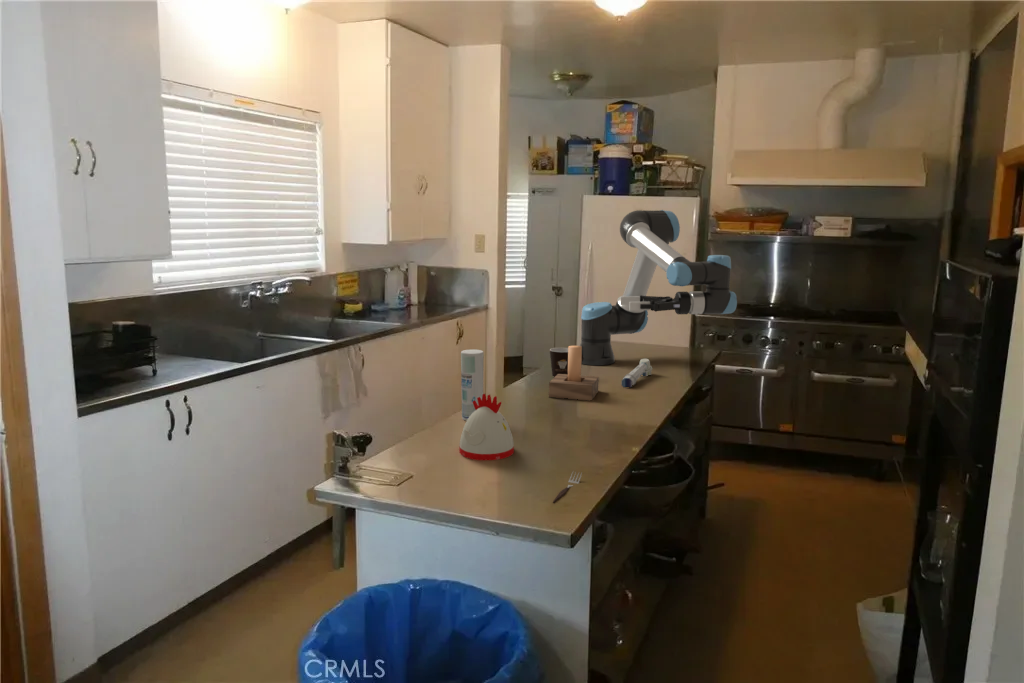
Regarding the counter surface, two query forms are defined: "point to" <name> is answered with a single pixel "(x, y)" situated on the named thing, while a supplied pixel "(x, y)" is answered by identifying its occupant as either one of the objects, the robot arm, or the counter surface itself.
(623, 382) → the toothbrush head
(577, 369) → the peg
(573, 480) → the fork
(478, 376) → the spray can
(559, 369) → the coffee mug
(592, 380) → the socket block
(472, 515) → the counter surface
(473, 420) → the kitchen timer
